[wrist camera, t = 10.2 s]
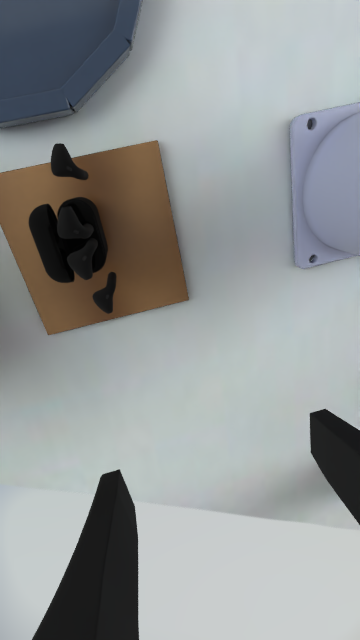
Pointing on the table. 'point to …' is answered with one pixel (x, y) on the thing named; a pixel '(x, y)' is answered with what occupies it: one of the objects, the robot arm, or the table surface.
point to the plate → (59, 54)
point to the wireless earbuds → (72, 235)
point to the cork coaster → (119, 228)
